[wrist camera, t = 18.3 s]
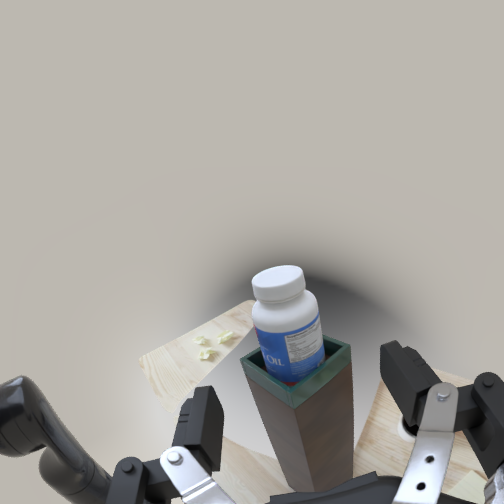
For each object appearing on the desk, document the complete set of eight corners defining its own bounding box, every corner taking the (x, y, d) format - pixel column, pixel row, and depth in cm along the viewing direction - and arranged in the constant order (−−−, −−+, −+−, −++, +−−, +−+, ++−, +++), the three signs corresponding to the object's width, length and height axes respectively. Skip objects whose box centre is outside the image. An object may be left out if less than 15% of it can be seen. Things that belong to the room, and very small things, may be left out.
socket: (294, 409, 19) (290, 393, 19) (244, 374, 25) (239, 358, 25) (351, 361, 23) (350, 344, 22) (299, 338, 29) (295, 323, 28)
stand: (319, 509, 26) (294, 409, 19) (288, 485, 32) (244, 374, 25) (352, 479, 30) (351, 361, 23) (321, 459, 36) (299, 338, 29)
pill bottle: (260, 367, 26) (233, 277, 23) (307, 345, 27) (289, 256, 25) (284, 399, 21) (257, 298, 18) (338, 371, 22) (325, 270, 20)
